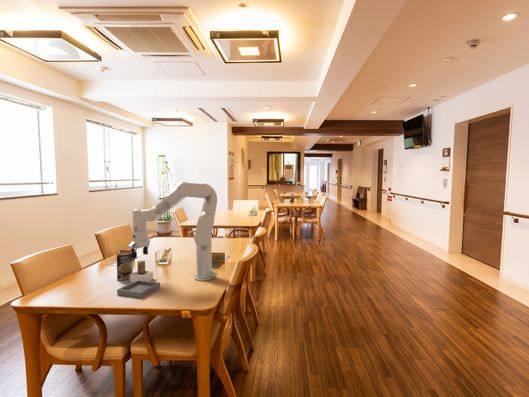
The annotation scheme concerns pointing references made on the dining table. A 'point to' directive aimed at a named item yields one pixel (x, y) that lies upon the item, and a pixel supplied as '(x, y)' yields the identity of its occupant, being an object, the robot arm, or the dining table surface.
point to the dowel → (141, 267)
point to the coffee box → (124, 266)
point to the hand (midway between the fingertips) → (140, 256)
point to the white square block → (141, 276)
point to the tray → (138, 289)
